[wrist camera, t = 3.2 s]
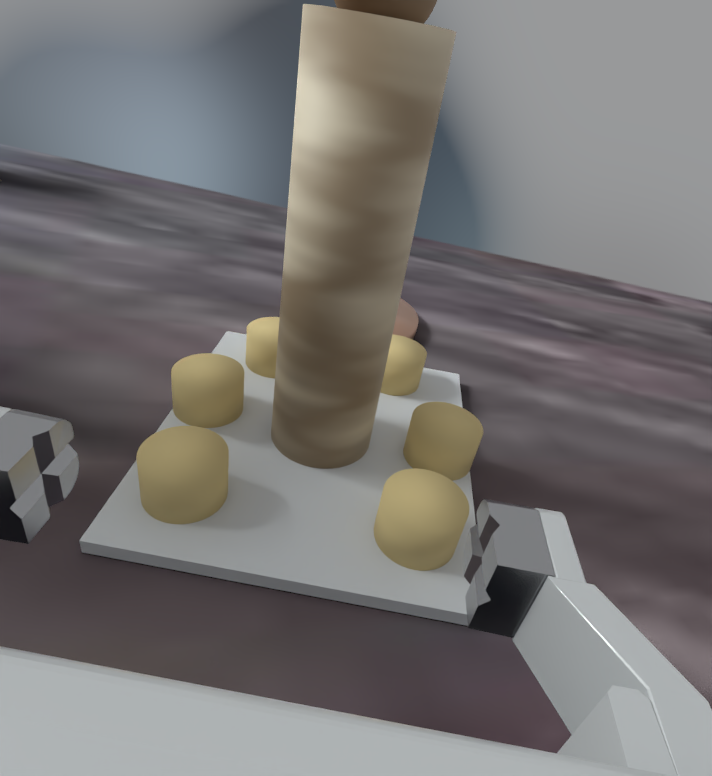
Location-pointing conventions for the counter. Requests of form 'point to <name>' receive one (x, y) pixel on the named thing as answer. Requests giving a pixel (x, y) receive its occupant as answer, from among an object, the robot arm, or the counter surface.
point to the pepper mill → (351, 215)
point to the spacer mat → (303, 488)
